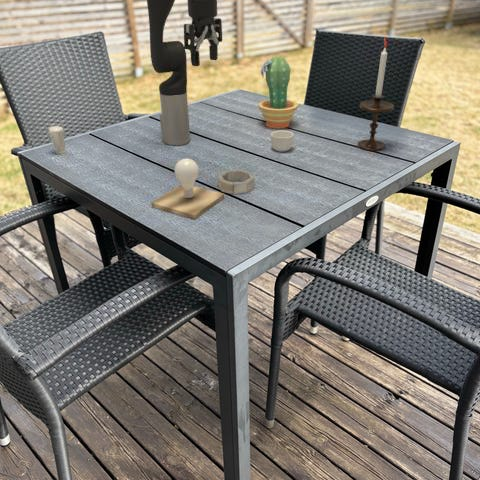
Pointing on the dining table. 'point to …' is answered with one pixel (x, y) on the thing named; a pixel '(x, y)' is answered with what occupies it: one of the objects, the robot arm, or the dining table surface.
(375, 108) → the candlestick
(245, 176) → the collar
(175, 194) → the oak board
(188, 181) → the lightbulb
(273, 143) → the teacup
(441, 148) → the dining table surface
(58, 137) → the milkshake
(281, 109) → the potted cactus
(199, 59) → the robot arm
